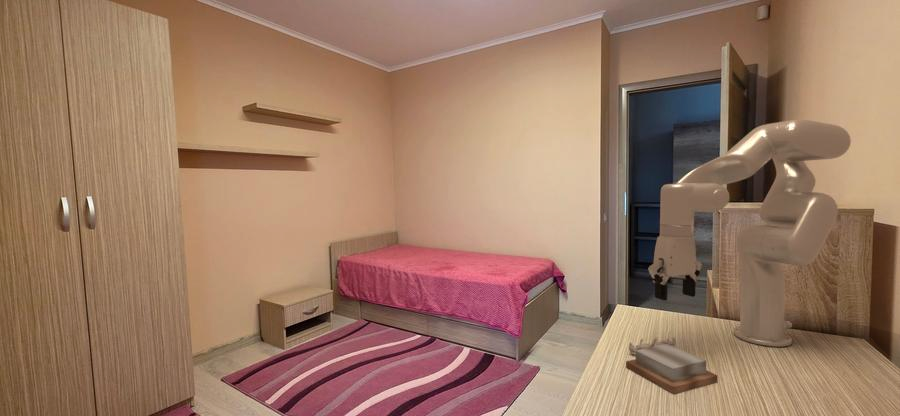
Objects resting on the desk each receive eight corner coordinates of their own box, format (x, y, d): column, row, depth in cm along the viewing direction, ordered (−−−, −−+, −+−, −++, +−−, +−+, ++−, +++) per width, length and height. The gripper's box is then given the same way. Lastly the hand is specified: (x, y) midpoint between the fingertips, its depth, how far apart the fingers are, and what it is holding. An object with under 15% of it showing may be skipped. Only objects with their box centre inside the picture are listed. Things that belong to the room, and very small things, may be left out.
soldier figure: (681, 336, 97) (635, 331, 97) (685, 356, 95) (638, 352, 95) (664, 339, 104) (621, 335, 104) (667, 358, 102) (623, 354, 102)
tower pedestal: (666, 357, 96) (666, 340, 96) (717, 381, 84) (717, 362, 84) (626, 367, 92) (625, 349, 92) (673, 394, 80) (673, 373, 79)
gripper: (687, 229, 104) (686, 290, 105) (638, 231, 98) (637, 296, 99) (714, 231, 97) (712, 297, 98) (663, 234, 91) (662, 304, 92)
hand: (675, 297), depth 99 cm, fingers open, 9 cm apart
